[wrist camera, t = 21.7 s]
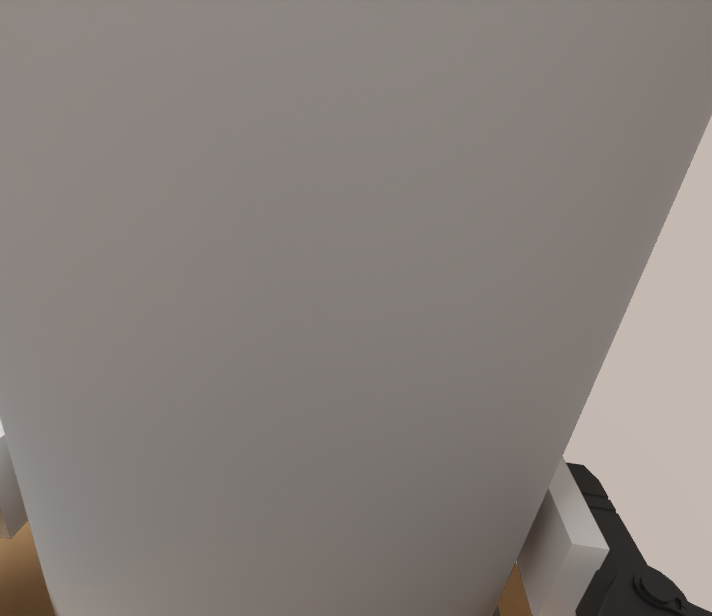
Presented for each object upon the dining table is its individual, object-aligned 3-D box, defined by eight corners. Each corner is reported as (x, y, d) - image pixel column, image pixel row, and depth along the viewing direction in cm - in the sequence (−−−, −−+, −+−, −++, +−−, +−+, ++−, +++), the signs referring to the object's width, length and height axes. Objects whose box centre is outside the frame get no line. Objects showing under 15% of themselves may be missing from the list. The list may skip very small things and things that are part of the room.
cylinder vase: (403, 563, 24) (536, 72, 14) (445, 962, 13) (1374, -154, 2) (184, 543, 23) (154, 13, 13) (20, 945, 12) (-1135, -668, 2)
